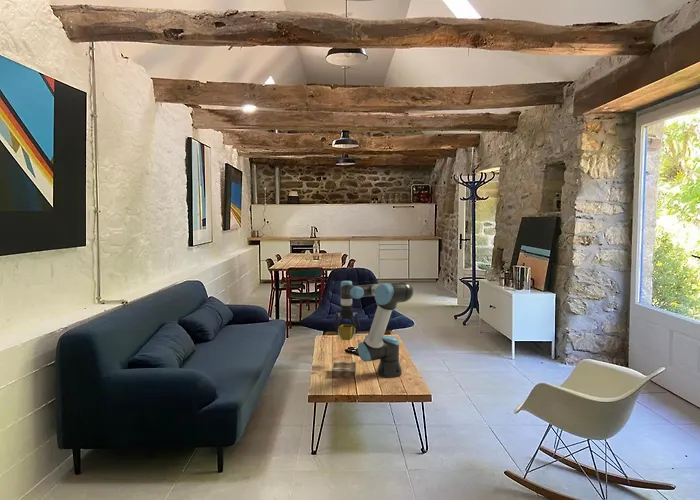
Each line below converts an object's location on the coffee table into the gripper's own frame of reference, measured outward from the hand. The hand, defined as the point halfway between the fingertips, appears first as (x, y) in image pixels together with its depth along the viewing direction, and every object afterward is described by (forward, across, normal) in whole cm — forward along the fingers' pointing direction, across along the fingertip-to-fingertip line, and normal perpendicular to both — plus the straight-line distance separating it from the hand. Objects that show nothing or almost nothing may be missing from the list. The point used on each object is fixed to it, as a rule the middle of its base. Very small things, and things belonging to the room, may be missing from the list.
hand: (346, 338), depth 318 cm
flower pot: (+1, 0, 0) cm, 1 cm away
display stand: (+18, +1, +18) cm, 25 cm away
